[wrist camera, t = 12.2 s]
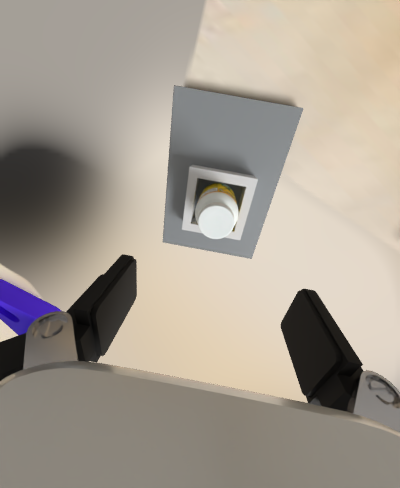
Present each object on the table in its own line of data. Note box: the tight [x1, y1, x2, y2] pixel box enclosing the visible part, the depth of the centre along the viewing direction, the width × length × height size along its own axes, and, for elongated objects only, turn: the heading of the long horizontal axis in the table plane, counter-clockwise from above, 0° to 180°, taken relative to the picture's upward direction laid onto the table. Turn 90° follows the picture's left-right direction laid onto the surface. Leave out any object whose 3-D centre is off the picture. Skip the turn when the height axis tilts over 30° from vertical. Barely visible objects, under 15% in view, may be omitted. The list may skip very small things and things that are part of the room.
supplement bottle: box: [195, 182, 239, 239], centre depth 25 cm, size 5×5×10 cm
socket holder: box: [163, 85, 303, 259], centre depth 27 cm, size 22×16×4 cm
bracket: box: [0, 279, 61, 335], centre depth 42 cm, size 18×11×12 cm, turn 36°
